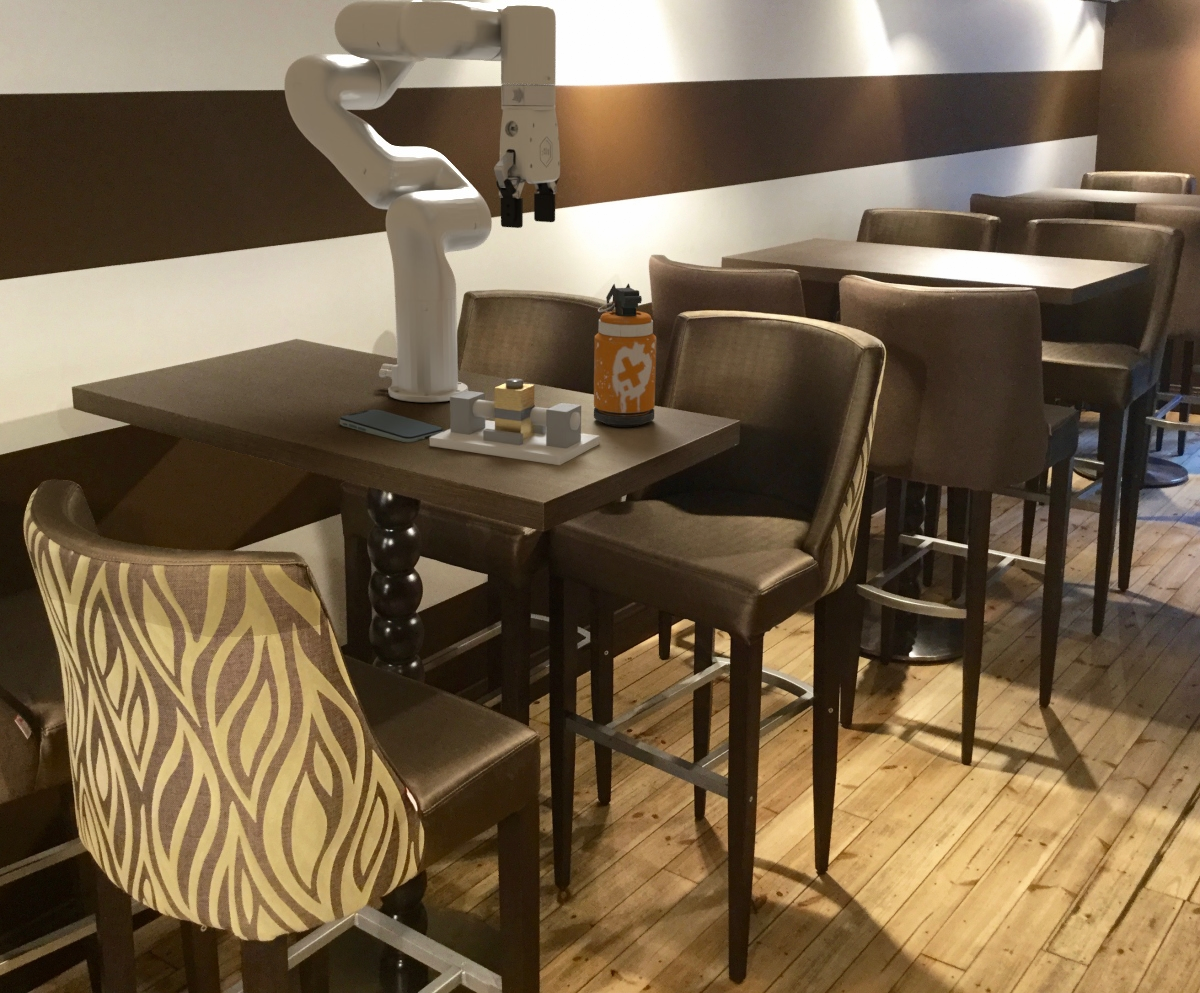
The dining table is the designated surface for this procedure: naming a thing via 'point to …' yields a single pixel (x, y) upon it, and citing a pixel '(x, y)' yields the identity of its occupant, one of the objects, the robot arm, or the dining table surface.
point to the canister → (624, 362)
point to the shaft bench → (549, 443)
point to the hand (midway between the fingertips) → (528, 224)
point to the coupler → (514, 407)
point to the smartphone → (389, 425)
